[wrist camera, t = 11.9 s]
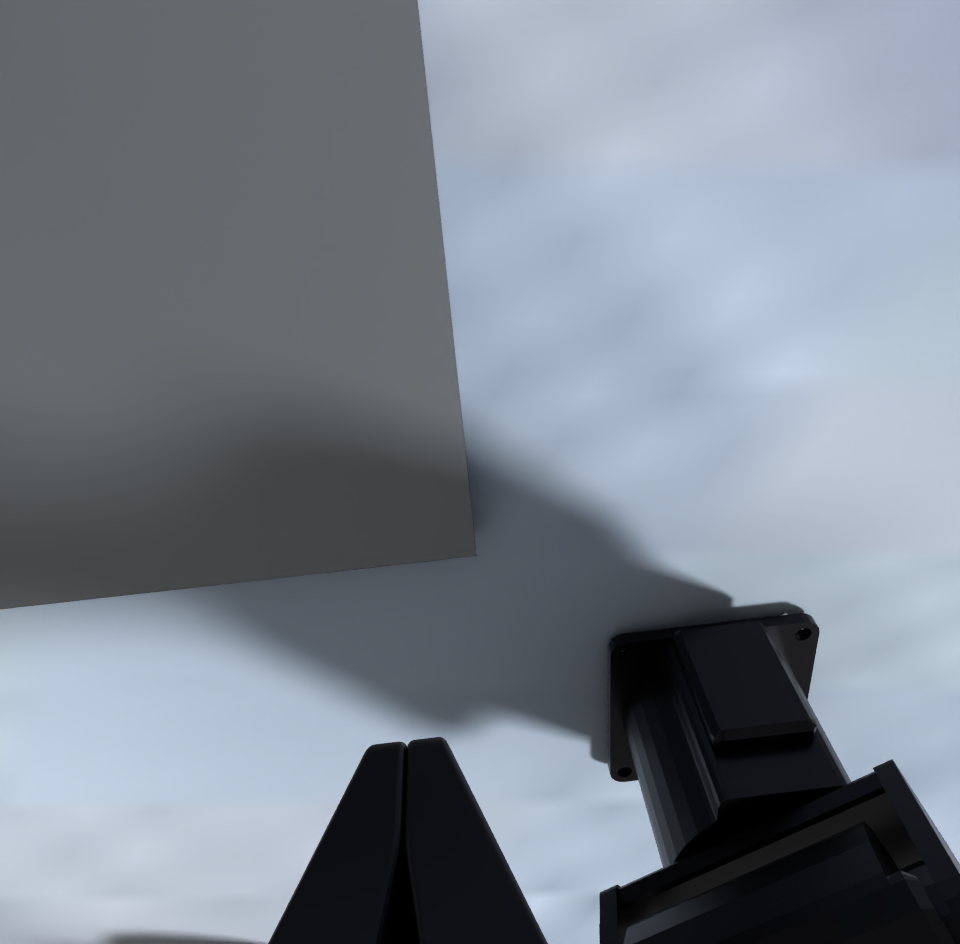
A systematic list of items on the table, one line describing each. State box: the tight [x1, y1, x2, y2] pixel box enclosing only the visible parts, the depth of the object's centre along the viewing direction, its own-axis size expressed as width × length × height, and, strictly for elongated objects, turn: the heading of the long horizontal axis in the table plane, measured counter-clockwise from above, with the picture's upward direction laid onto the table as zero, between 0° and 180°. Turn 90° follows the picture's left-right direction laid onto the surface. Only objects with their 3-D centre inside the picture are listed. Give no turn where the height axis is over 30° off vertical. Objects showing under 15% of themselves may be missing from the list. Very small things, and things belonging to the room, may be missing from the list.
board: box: [0, 0, 477, 609], centre depth 18 cm, size 18×18×1 cm
